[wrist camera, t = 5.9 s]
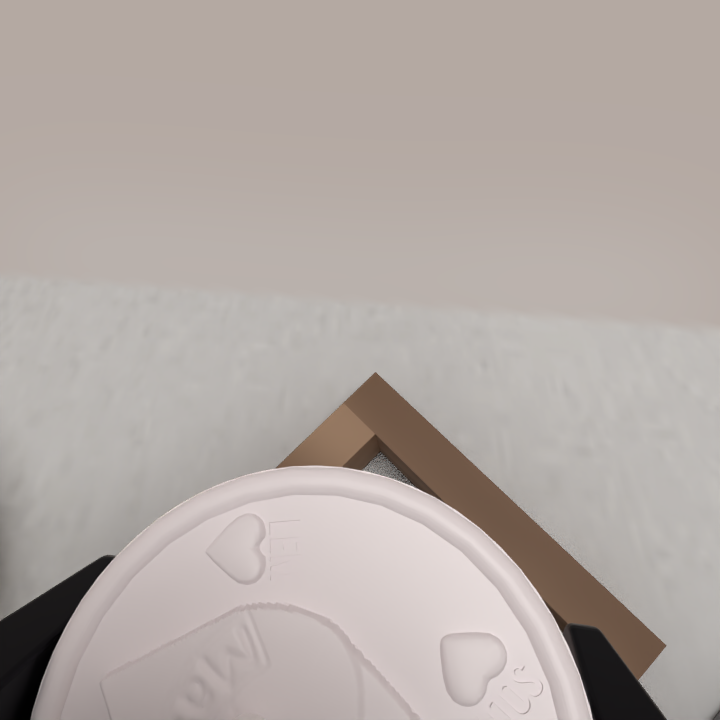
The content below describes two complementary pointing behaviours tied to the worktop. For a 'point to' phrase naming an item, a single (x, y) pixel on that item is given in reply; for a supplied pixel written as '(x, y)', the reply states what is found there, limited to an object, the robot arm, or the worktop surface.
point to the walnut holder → (473, 509)
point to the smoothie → (312, 614)
